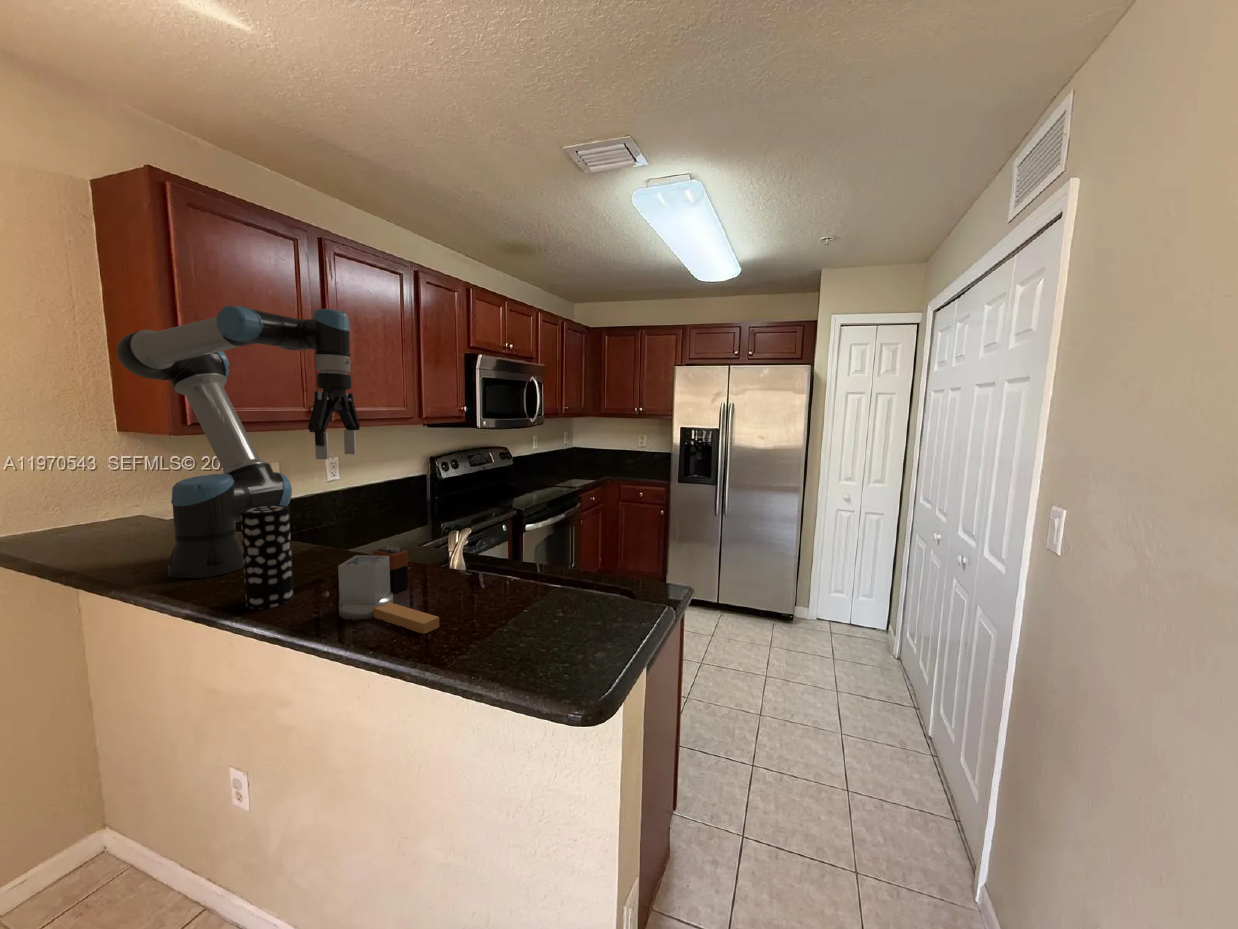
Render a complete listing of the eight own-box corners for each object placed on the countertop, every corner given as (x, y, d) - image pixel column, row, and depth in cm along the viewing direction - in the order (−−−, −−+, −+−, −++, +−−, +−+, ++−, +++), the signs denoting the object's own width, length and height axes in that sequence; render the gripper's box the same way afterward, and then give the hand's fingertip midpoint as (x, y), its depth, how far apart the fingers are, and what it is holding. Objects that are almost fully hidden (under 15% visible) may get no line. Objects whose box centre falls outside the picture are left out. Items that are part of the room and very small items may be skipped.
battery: (392, 594, 110) (391, 551, 108) (373, 588, 113) (371, 546, 112) (409, 588, 113) (408, 546, 112) (389, 583, 117) (388, 542, 115)
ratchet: (328, 613, 99) (327, 584, 98) (372, 597, 108) (372, 570, 107) (409, 641, 88) (409, 609, 87) (451, 620, 97) (451, 591, 96)
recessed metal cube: (339, 604, 97) (338, 565, 96) (356, 591, 104) (355, 555, 103) (375, 605, 98) (374, 566, 97) (390, 592, 105) (389, 555, 104)
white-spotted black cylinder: (289, 591, 110) (284, 503, 108) (297, 602, 104) (293, 509, 102) (243, 600, 104) (237, 508, 102) (249, 612, 98) (243, 515, 96)
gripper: (321, 369, 111) (325, 461, 114) (371, 377, 136) (373, 452, 139) (287, 368, 111) (292, 461, 113) (344, 376, 136) (346, 452, 138)
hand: (337, 456), depth 126 cm, fingers open, 13 cm apart
